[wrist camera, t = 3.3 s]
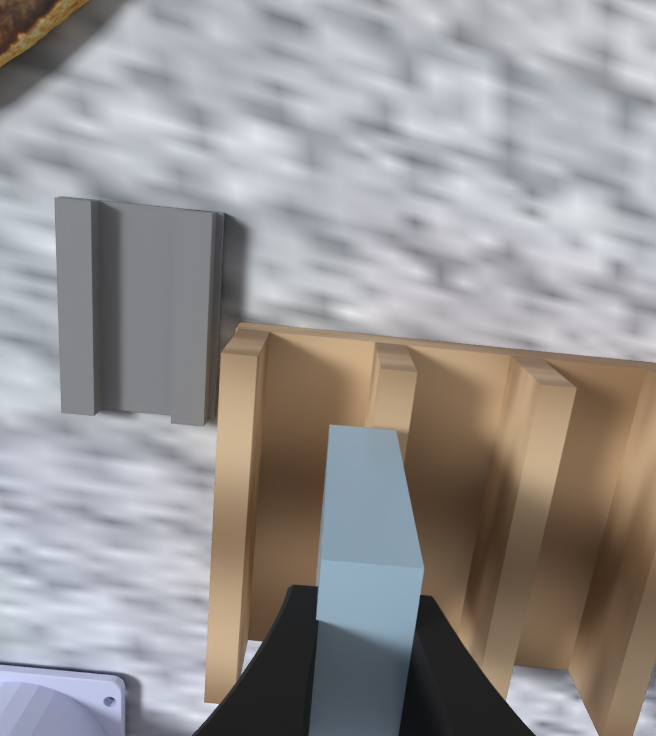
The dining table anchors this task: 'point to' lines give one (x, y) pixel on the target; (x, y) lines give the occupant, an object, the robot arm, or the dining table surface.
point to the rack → (451, 497)
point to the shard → (30, 23)
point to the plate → (364, 586)
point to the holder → (138, 308)
